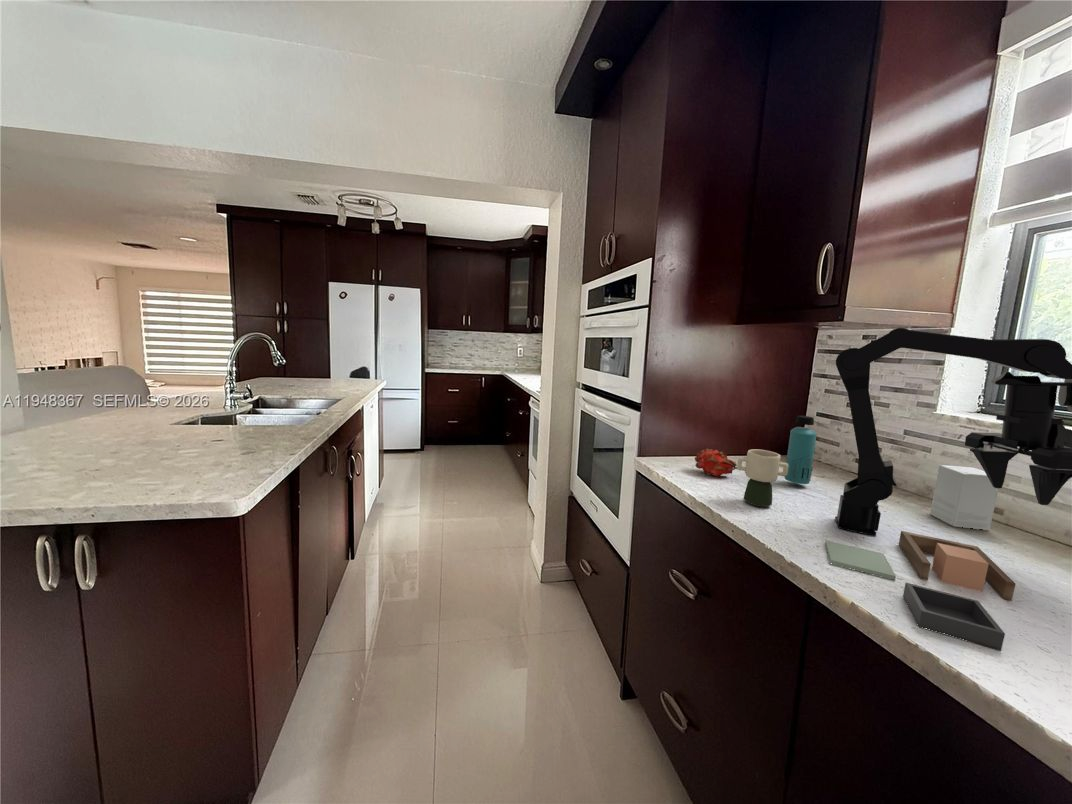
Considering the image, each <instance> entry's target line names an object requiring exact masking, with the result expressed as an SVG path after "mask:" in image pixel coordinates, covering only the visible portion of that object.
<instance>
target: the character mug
mask: <svg viewBox="0 0 1072 804" xmlns="http://www.w3.org/2000/svg"><path fill="white" fill-rule="evenodd" d="M743 462H744V463H745V466H742V464H743ZM736 465H737V466H736V467H737V469H736V470H739V471H743V472H744V473H745V476H746V477H747V478H749V479H748V480H747V483H746V484H747V485H746V487H745V491H744V495H743V500H744V501H745V502H747V503H749V504H751V505H754V506H757V507H762V508H763V507H769V506H772V504H773V484H772V483H774V482H776V481H777V480H778V477H780V476H781V477H784V476H787V473H788V464H787V463H786V462H782V461H781V454H779V453H777V452H774V451H771V450H766V449H758V448H757V449H748V451H747V453H746V457H743V456H739V457H738V459H737V463H736ZM780 467H783V469H782V471H779V470H780Z"/></svg>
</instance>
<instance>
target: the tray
mask: <svg viewBox="0 0 1072 804" xmlns="http://www.w3.org/2000/svg"><path fill="white" fill-rule="evenodd" d="M903 597H904V598H903ZM902 598H903V600H904V602H905V603H906V606H907V605H908V606H907V608H908V607H909V608H908V610H909V609H910V610H909V612H910V611H911V612H910V614H911V613H912V614H911V615H913V616H912V617H914V618H913V619H914V621H915V623H916V625H917V624H918V625H917V627H918V626H919V627H918V628H920V627H923V628H922V629H924V628H927V629H930V630H929V631H931V630H933V631H932V632H934V631H937V632H941V633H945V634H948V635H951V636H954V637H953V638H955V637H957V638H956V639H958V638H961V639H960V640H962V639H964V640H963V641H965V640H967V641H966V642H968V641H970V642H969V643H973V644H976V645H979V646H983V647H986V648H990V649H992V650H993V649H994V650H997V651H1000V652H1001V651H1002V648H1003V644H1004V640H1005V636H1006V633H1005V632H1004V630H1003V629H1002V628H1001V627H1000V626H999V624H998V623H997V622H996V620H995V619H994V618H993V617H992V615H990V613H989V612H988V611H987V610H986V608H985V607H984V606H983V604H982V603H981V602H980V600H977V599H973V598H971V597H970V598H969V597H965V596H961V595H957V594H953V593H949V592H946V591H945V592H944V591H941V590H937V589H934V588H931V587H930V588H929V587H925V586H922V585H917V584H915V583H914V584H913V583H909V582H905V584H904V589H903V594H902ZM927 629H926V630H927ZM937 632H936V633H937ZM941 633H940V634H941ZM948 635H947V636H948ZM951 636H950V637H951Z"/></svg>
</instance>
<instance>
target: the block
mask: <svg viewBox="0 0 1072 804" xmlns="http://www.w3.org/2000/svg"><path fill="white" fill-rule="evenodd" d="M988 565H989V564H988V563H987V562H986V561H985V560H984V559H983V558H982V557H981V556H980V555H979V554H978V553H977V552H976V551H974V550H969V549H964V548H959V547H955V546H950V545H945V544H940V543H937V545H936V550H935V555H933V560H932V564H931V569H932V570H934V571H933V572H934V573H935V575H936V574H937V575H936V576H937V577H939V578H938V579H939V580H940V582H941V581H942V582H941V583H946V584H949V583H950V585H954V586H957V585H958V586H959V587H961V586H962V587H963V588H965V589H966V588H967V589H970V590H974V591H977V592H983V589H984V586H985V581H986V580H985V578H986V574H987V569H988ZM958 586H957V587H958Z"/></svg>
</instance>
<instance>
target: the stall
mask: <svg viewBox="0 0 1072 804" xmlns="http://www.w3.org/2000/svg"><path fill="white" fill-rule="evenodd" d="M937 543H940V544H945V545H950V546H955V547H959V548H964V549H969V550H974V551H976V552H977V553H978V554H979V555H980V556H981V557H982V558H983V559H984V560H985V561H986V562H987V563H988V564H989V565H988V569H987V574H986V578H985V581H986V583H987V584H988V585H990V587H991V588H992V589H993V591H995V592H996V593H997V594H998V595H999V596H1000V598H1001V599H1003V600H1007V601H1011V602H1012V601H1013V597H1014V592H1015V590H1016V589H1015V588H1016V584H1017V583H1016V582H1015V581H1014V580H1013V579H1012V578H1011V577H1010V576H1009V575H1008V574H1007V573H1005V572H1004V571H1003V569H1001V568H1000V567H999V566H998V565H997V564H996V563H995V562H994V561H993V560H992V559H991V558H990V557H989V556H988V555H987V554H986V553H985V552H984V551H983V550H982V549H981V548H980V547H979V546H977V545H971V544H967V543H964V542H963V543H961V542H958V541H954V540H953V541H952V540H949V539H942V538H937V537H934V536H928V535H924V534H919V533H915V532H910V531H904V530H900V535H899V540H898V546H899V548H900V549H901V550H902V553H903V554H904V556H905V558H906V559H907V561H908V562H909V564H910V566H911V567H912V568H913V570H914V571H915V573H916V574H917V576H918V578H919V577H920V578H921V579H920V578H919V579H920V580H924V579H925V580H924V581H928V580H929V576H930V570H931V568H932V564H931V562H930V561H929V559H928V558H927V556H926V555H925V554H930V555H933V556H934V555H935V550H936V545H937ZM924 553H925V554H924Z"/></svg>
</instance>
